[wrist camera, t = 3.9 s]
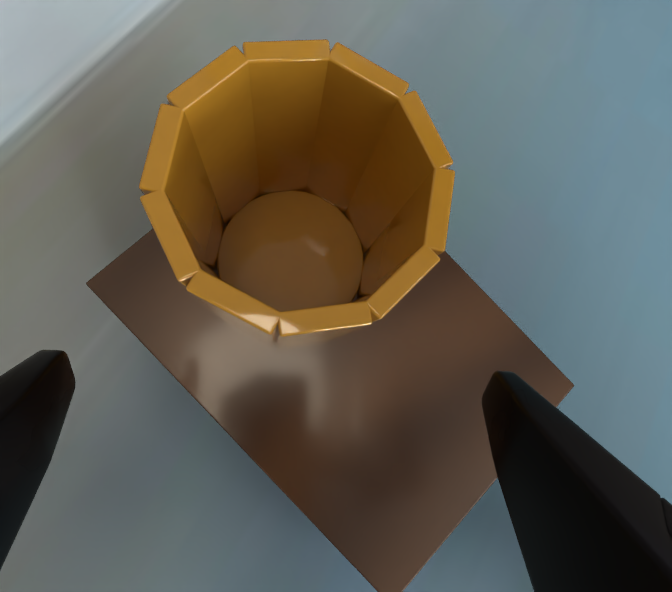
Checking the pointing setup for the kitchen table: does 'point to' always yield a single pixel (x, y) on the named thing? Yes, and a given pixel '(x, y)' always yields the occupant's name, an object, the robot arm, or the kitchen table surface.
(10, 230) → the kitchen table surface
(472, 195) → the kitchen table surface
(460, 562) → the kitchen table surface
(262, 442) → the brown wooden board
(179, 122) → the cup
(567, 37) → the kitchen table surface
